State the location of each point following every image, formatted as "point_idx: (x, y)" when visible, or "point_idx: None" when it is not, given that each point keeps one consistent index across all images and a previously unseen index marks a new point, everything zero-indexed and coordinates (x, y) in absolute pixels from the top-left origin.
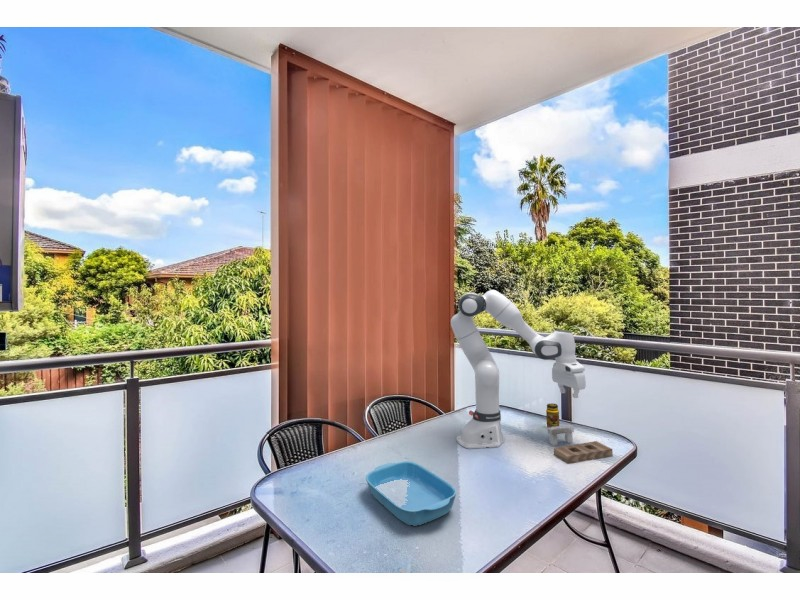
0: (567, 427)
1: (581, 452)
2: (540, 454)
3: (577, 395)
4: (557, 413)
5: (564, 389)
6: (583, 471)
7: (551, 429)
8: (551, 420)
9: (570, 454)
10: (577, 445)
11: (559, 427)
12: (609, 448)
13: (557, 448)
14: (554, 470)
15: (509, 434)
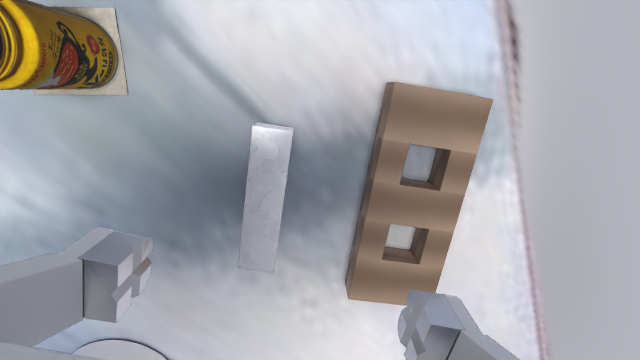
0: (286, 176)
1: (437, 241)
2: (318, 315)
3: (466, 325)
4: (46, 37)
5: (119, 274)
6: (483, 288)
7: (268, 268)
8: (71, 82)
9: (425, 288)
10: (381, 201)
11: (265, 213)
12: (482, 105)
13: (360, 290)
14: None
15: None
